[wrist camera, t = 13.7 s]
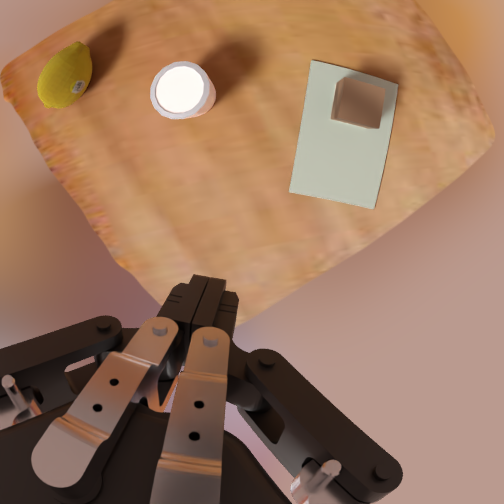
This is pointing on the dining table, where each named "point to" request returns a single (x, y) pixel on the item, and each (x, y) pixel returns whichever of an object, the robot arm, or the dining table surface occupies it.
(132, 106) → the dining table surface
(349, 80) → the copper block
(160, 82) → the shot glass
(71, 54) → the lemon
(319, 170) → the rubber mat
